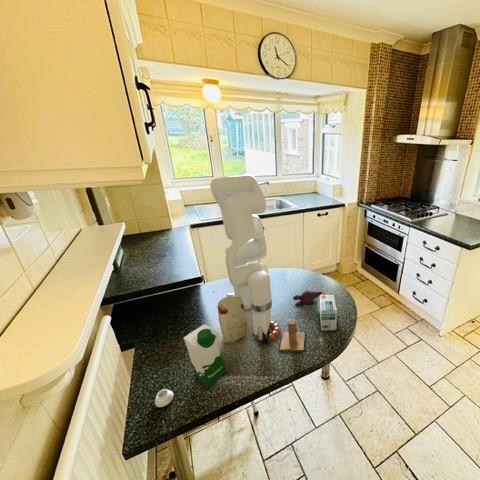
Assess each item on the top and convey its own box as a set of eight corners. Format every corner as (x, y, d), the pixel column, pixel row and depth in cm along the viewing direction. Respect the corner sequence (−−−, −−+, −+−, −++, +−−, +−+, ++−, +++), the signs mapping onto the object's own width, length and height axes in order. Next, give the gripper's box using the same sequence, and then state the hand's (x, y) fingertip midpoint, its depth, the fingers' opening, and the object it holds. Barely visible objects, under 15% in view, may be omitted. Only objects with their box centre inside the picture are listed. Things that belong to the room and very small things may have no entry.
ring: (251, 342, 101) (250, 338, 100) (257, 323, 110) (256, 319, 109) (277, 343, 101) (277, 338, 100) (281, 324, 110) (281, 319, 109)
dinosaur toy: (318, 283, 128) (290, 293, 122) (324, 288, 121) (294, 298, 116) (320, 296, 129) (292, 306, 124) (326, 301, 122) (297, 312, 117)
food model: (224, 349, 98) (216, 307, 90) (222, 337, 104) (214, 297, 95) (250, 340, 102) (244, 300, 94) (246, 329, 108) (241, 290, 99)
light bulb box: (336, 330, 107) (337, 310, 103) (320, 331, 107) (321, 310, 102) (333, 313, 117) (334, 294, 112) (319, 313, 117) (319, 294, 112)
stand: (279, 352, 97) (278, 330, 92) (283, 334, 105) (281, 313, 101) (303, 352, 97) (303, 330, 92) (305, 334, 105) (304, 313, 101)
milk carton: (207, 391, 83) (195, 346, 74) (191, 376, 87) (178, 332, 79) (229, 371, 89) (221, 328, 81) (214, 359, 94) (204, 316, 86)
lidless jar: (154, 397, 81) (155, 411, 77) (152, 391, 79) (153, 404, 76) (172, 389, 83) (174, 402, 79) (170, 383, 82) (172, 395, 78)
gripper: (256, 290, 102) (260, 325, 109) (245, 318, 87) (251, 357, 95) (275, 290, 102) (277, 325, 109) (267, 319, 87) (271, 357, 95)
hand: (265, 339), depth 102 cm, fingers closed on ring, 2 cm apart
